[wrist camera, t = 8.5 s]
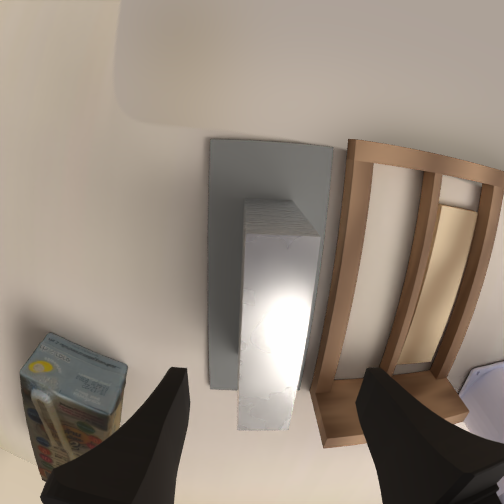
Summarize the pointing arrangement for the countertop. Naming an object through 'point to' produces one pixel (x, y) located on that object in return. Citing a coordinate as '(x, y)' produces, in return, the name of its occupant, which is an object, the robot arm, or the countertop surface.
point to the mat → (231, 228)
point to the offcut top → (439, 282)
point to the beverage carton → (69, 400)
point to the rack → (345, 277)
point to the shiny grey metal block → (273, 310)
